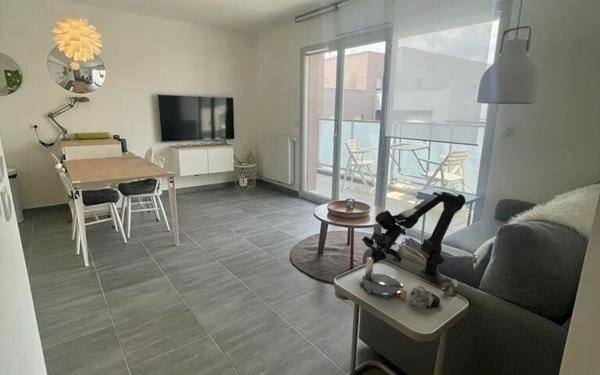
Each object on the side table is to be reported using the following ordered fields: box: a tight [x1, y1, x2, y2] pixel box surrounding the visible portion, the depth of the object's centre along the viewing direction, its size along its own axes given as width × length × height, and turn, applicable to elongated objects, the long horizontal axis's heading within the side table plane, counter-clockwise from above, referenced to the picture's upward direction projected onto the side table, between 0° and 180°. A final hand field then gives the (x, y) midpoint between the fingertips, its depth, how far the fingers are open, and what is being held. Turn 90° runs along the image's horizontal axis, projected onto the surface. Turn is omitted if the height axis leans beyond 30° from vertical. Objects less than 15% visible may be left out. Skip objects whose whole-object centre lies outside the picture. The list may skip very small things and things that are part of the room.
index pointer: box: [399, 288, 408, 299], centre depth 129 cm, size 2×2×4 cm
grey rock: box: [407, 285, 441, 310], centre depth 126 cm, size 7×11×10 cm
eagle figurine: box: [438, 275, 459, 298], centre depth 136 cm, size 8×7×9 cm
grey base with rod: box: [359, 256, 404, 300], centre depth 135 cm, size 17×17×11 cm
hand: (369, 264), depth 139 cm, fingers closed
